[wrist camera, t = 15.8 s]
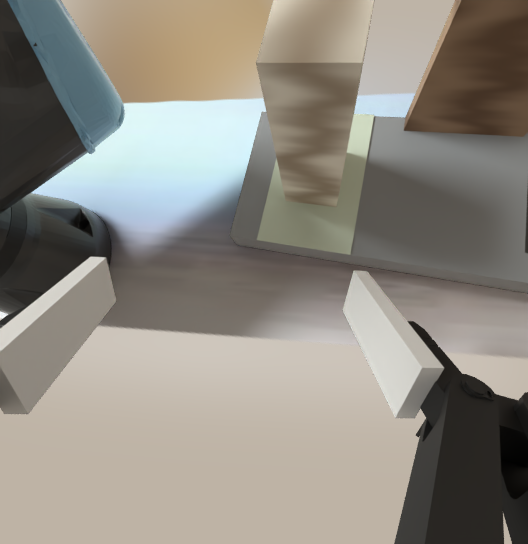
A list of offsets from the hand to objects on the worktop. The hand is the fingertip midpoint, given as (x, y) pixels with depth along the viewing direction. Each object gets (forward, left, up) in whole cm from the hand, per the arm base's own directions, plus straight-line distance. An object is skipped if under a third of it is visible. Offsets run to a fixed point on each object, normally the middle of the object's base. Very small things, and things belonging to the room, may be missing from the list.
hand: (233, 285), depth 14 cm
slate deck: (+11, +14, -14) cm, 22 cm away
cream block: (+2, +14, -10) cm, 17 cm away
